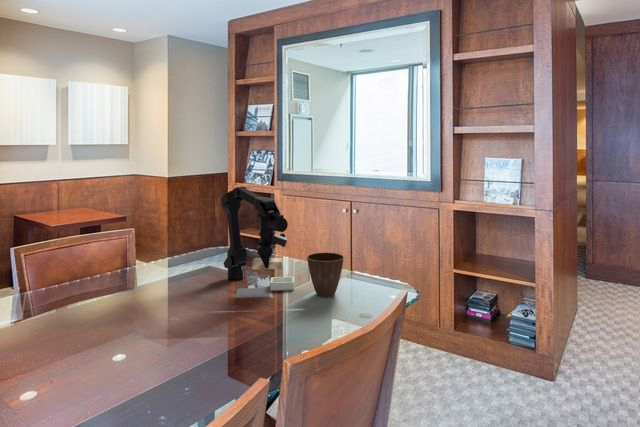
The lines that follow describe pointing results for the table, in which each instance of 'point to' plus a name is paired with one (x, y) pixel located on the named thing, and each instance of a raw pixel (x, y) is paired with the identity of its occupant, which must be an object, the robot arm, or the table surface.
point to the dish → (281, 283)
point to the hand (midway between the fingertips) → (267, 265)
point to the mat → (252, 292)
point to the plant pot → (325, 272)
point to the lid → (273, 263)
